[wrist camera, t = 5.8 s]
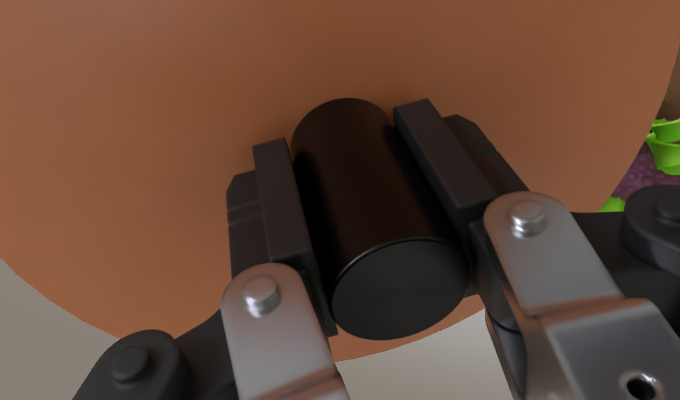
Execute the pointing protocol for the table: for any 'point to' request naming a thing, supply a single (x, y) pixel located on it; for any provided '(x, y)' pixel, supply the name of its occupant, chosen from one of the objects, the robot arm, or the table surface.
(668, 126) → the plant
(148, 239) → the pot lid
